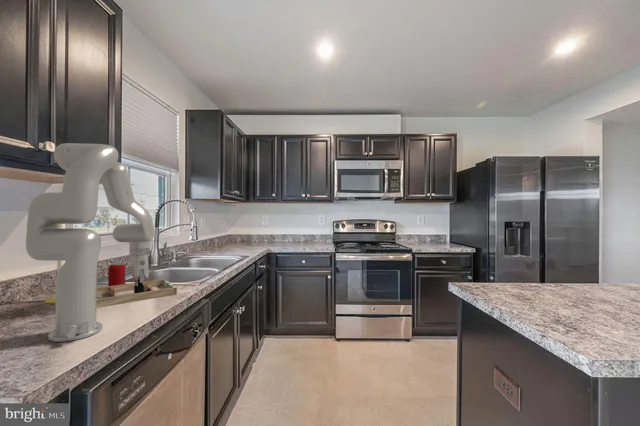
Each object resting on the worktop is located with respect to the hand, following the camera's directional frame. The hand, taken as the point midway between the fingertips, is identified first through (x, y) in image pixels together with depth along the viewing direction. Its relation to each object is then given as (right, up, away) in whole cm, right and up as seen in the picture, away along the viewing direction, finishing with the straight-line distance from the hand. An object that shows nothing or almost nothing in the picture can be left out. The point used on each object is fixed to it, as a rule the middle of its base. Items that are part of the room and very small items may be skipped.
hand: (139, 294), depth 126 cm
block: (-2, -1, +4) cm, 5 cm away
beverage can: (-19, -1, +14) cm, 24 cm away
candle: (-30, -1, -4) cm, 30 cm away
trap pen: (-5, -1, +3) cm, 6 cm away
